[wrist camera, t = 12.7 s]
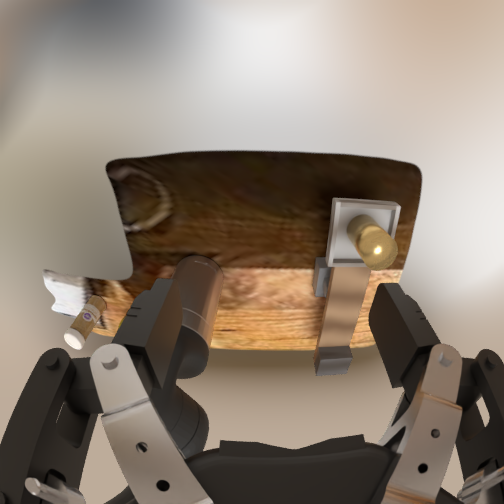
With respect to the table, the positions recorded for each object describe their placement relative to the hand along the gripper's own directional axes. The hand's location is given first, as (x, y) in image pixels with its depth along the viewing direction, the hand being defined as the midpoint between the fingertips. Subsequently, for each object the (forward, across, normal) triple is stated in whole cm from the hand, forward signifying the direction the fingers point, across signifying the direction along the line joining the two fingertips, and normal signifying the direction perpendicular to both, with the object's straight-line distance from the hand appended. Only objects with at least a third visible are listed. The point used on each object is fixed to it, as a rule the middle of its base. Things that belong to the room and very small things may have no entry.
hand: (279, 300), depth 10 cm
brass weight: (+24, -13, +7) cm, 28 cm away
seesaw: (+26, -14, +20) cm, 35 cm away
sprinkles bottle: (+34, +37, +30) cm, 58 cm away
